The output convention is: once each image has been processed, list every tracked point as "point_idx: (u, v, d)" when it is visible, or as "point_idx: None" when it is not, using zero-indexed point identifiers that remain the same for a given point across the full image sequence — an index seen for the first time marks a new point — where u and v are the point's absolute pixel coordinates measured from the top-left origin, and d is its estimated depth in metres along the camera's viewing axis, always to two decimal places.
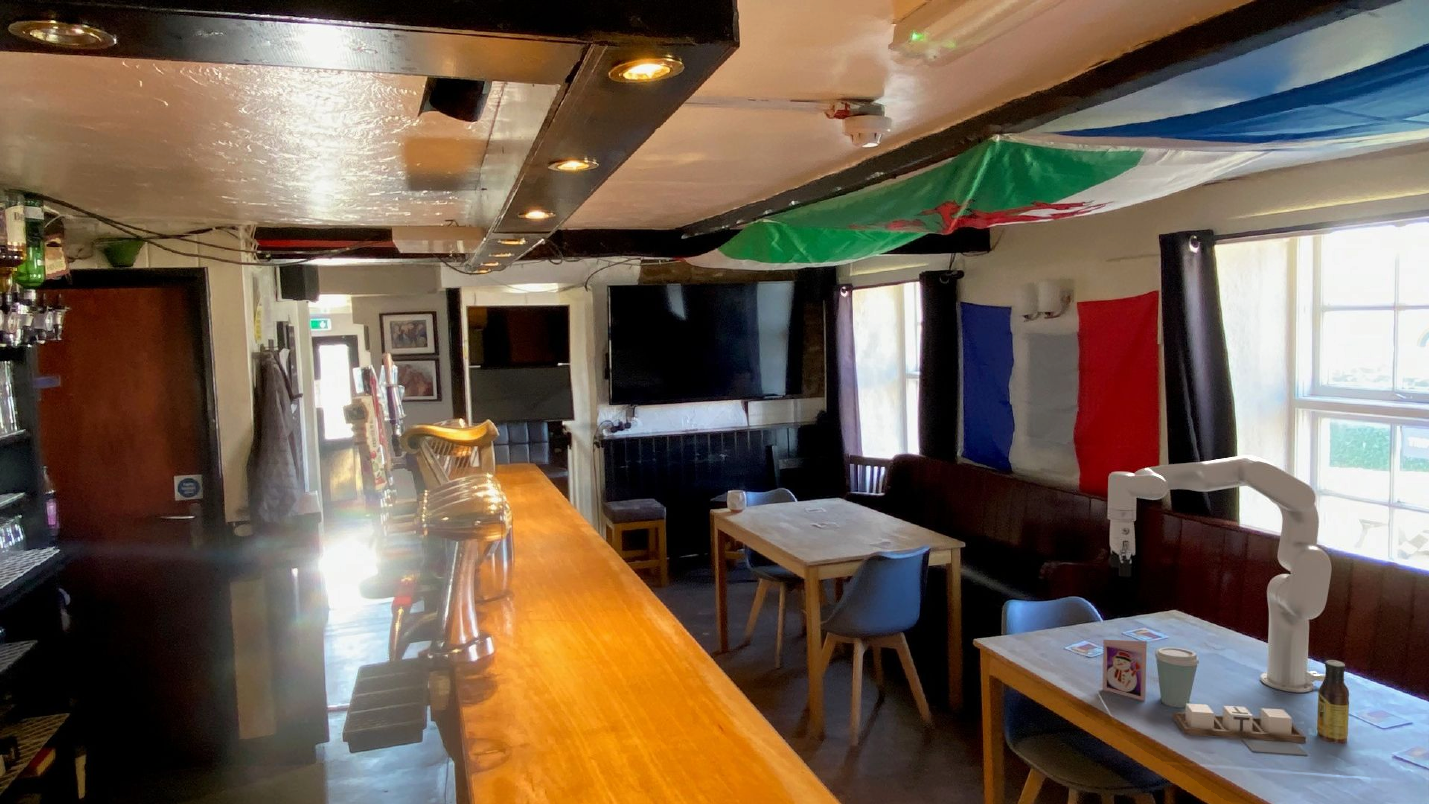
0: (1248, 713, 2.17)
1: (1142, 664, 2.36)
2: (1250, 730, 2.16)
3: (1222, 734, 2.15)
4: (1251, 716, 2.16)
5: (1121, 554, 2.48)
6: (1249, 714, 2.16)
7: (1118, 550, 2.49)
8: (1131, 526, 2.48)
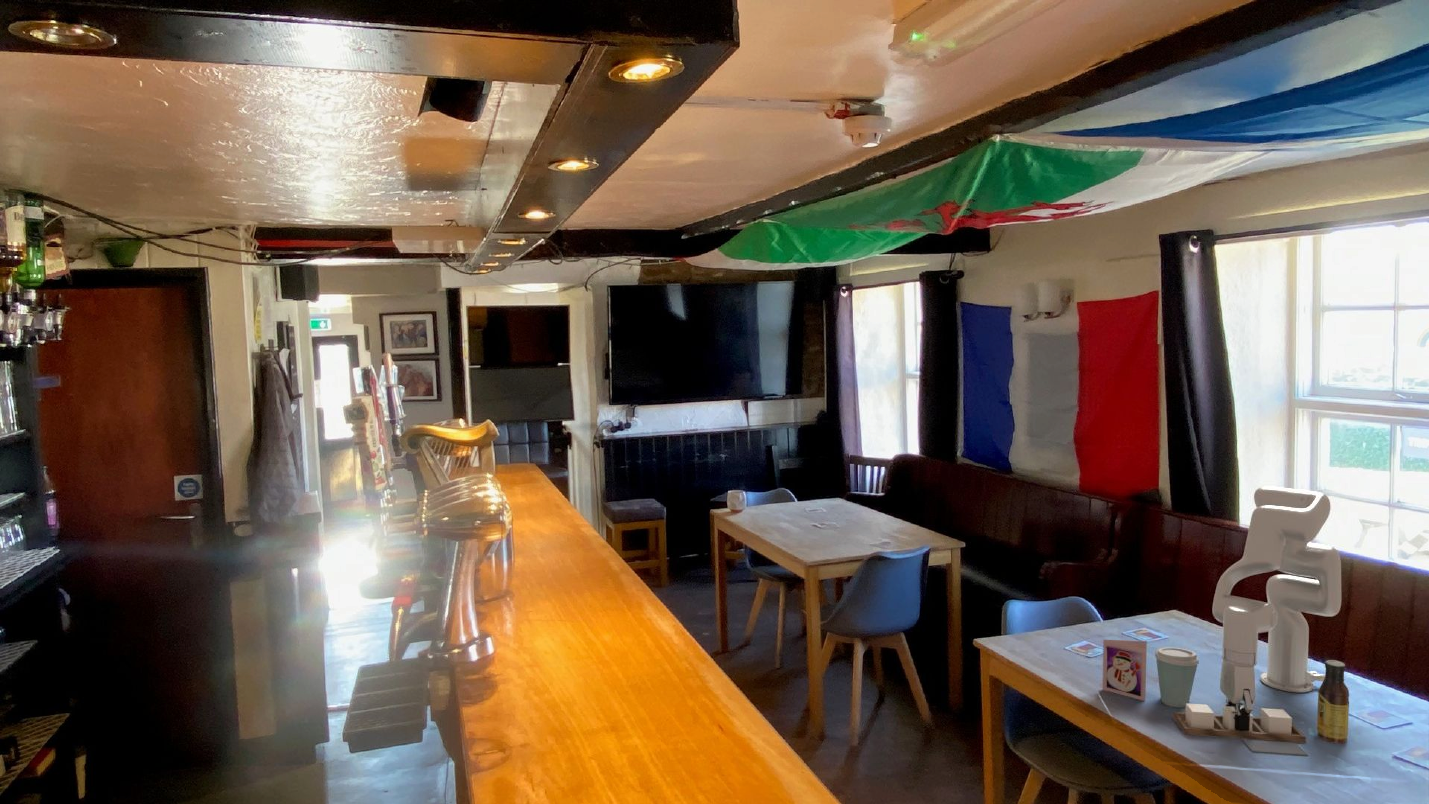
0: None
1: (1142, 664, 2.36)
2: (1250, 730, 2.16)
3: (1222, 734, 2.15)
4: (1251, 716, 2.16)
5: None
6: None
7: None
8: None
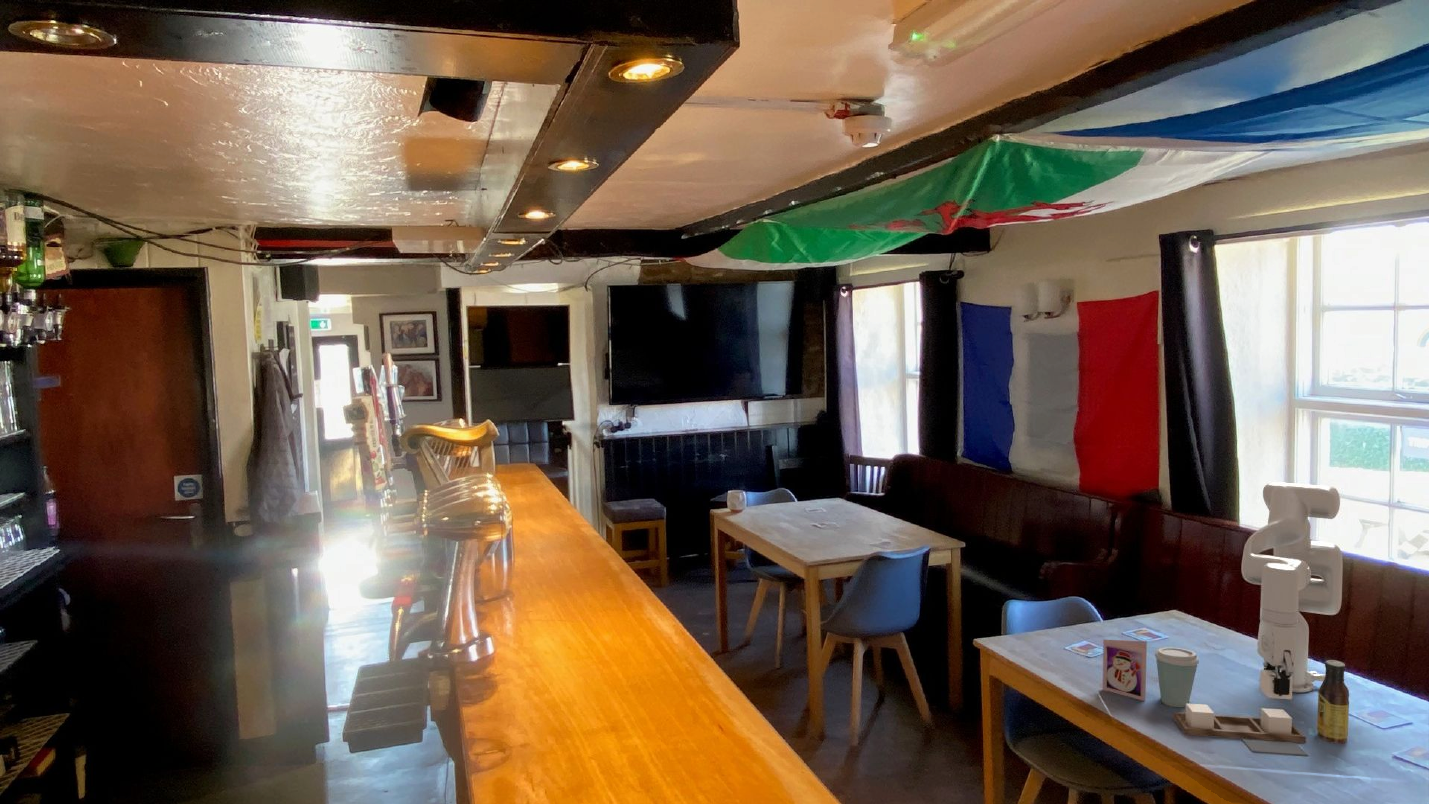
0: None
1: (1142, 664, 2.36)
2: (1290, 694, 2.05)
3: (1222, 734, 2.15)
4: (1291, 679, 2.05)
5: None
6: None
7: None
8: None
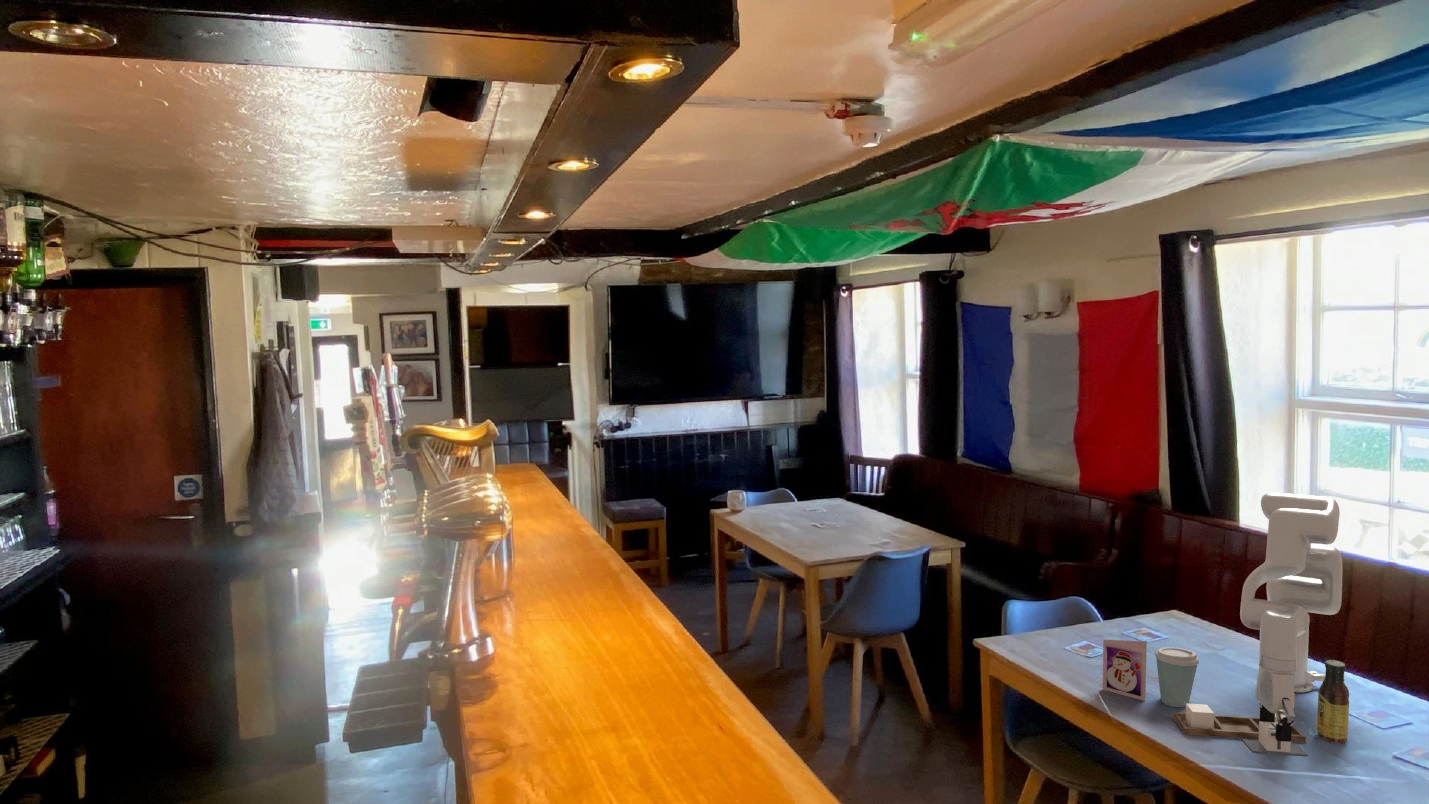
0: None
1: (1142, 664, 2.36)
2: (1288, 747, 2.06)
3: (1222, 734, 2.15)
4: None
5: None
6: None
7: None
8: None
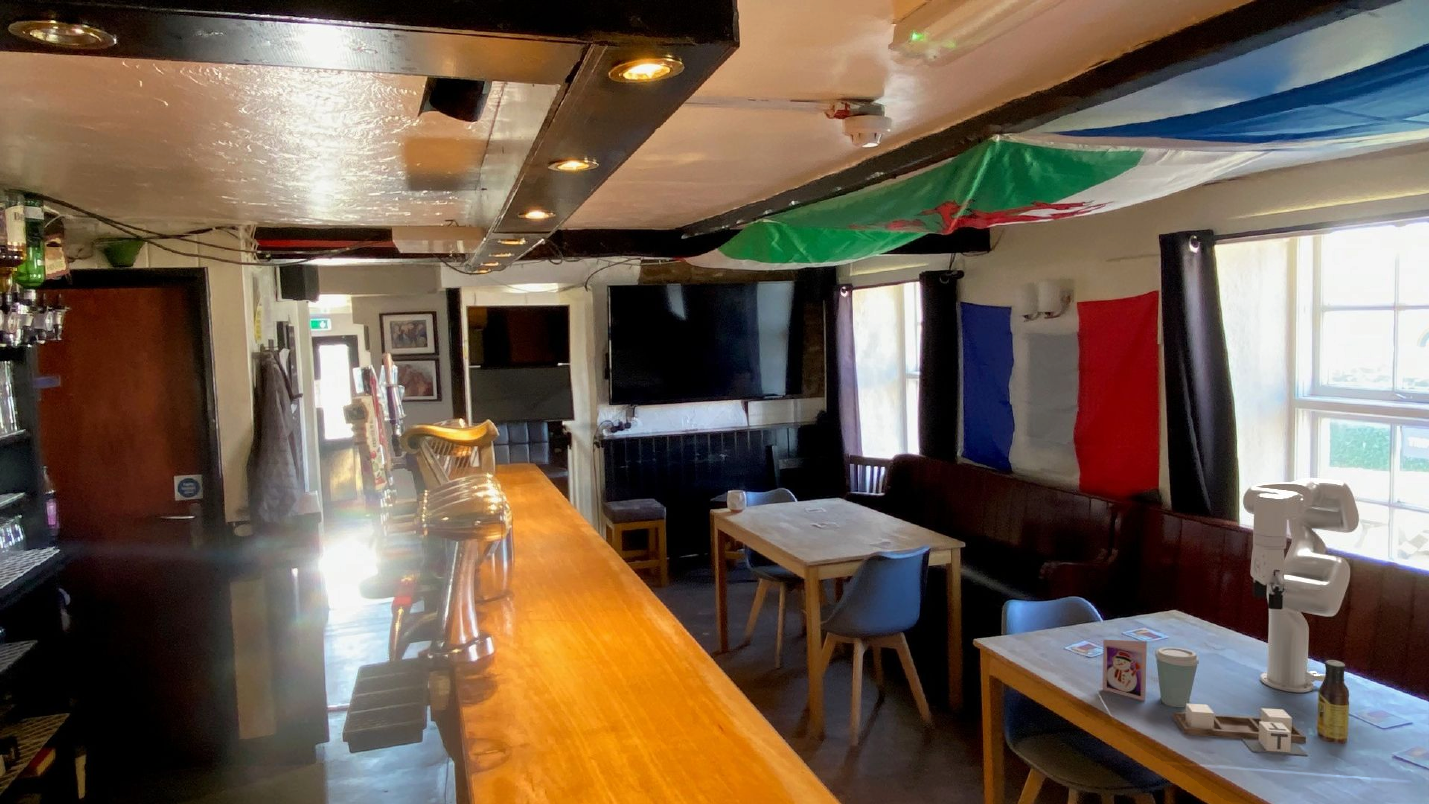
0: (1286, 729, 2.07)
1: (1142, 664, 2.36)
2: (1288, 747, 2.06)
3: (1222, 734, 2.15)
4: (1289, 733, 2.06)
5: None
6: (1287, 731, 2.07)
7: None
8: None
